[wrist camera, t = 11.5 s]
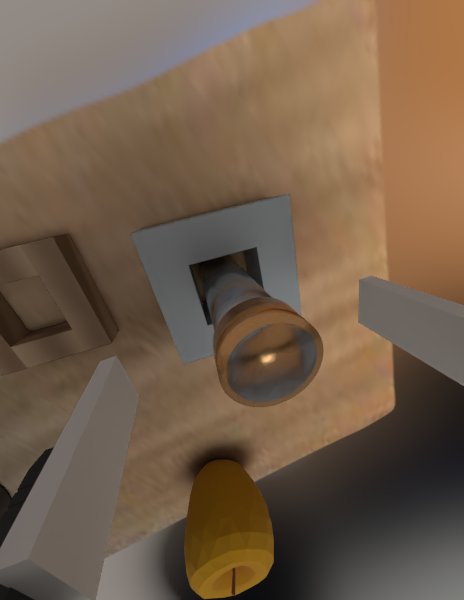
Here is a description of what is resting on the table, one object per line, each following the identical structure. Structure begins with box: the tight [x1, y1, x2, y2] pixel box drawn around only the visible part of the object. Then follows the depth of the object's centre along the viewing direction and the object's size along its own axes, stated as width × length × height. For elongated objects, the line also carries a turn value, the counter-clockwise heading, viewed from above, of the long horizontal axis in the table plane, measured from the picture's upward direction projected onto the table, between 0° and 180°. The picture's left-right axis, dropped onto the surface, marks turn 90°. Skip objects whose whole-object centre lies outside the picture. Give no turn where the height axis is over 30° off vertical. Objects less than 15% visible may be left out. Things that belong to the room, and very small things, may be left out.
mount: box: [0, 234, 119, 376], centre depth 19 cm, size 10×10×2 cm
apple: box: [184, 459, 274, 599], centre depth 29 cm, size 11×11×13 cm
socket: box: [130, 194, 301, 365], centre depth 20 cm, size 12×12×5 cm
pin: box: [200, 255, 323, 407], centre depth 16 cm, size 5×5×15 cm
